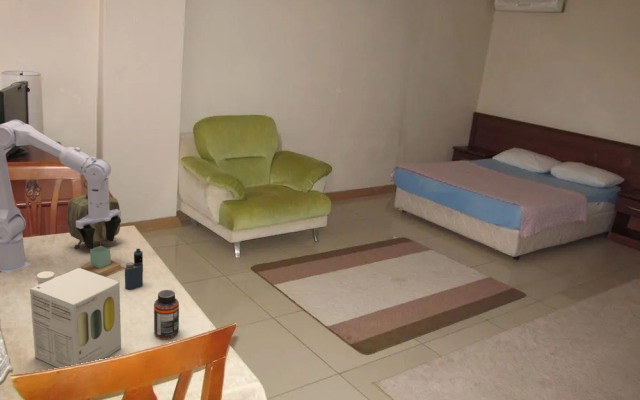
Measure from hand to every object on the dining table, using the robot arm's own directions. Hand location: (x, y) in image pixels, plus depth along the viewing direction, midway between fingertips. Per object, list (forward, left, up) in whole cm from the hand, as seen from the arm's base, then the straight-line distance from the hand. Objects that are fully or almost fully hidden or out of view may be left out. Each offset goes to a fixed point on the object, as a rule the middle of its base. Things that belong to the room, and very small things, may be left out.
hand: (100, 244), depth 158 cm
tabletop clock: (-15, +11, -9) cm, 21 cm away
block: (0, 0, -7) cm, 7 cm away
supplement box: (+30, -31, -9) cm, 44 cm away
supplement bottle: (+40, -14, -9) cm, 43 cm away
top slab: (0, 0, -8) cm, 8 cm away
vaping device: (+16, -2, -9) cm, 19 cm away
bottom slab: (0, 0, -10) cm, 10 cm away
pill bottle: (+7, -23, -9) cm, 26 cm away
